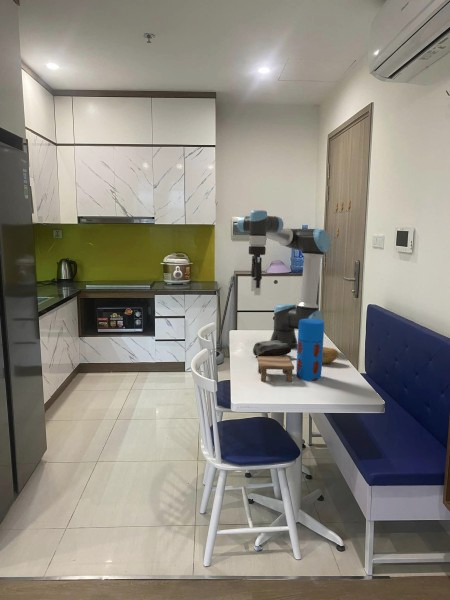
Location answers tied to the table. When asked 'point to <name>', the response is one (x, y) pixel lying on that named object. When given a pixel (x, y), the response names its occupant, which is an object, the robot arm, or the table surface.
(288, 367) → the small wooden stool
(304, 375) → the thermos
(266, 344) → the rock
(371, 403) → the table surface
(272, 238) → the robot arm
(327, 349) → the potato
